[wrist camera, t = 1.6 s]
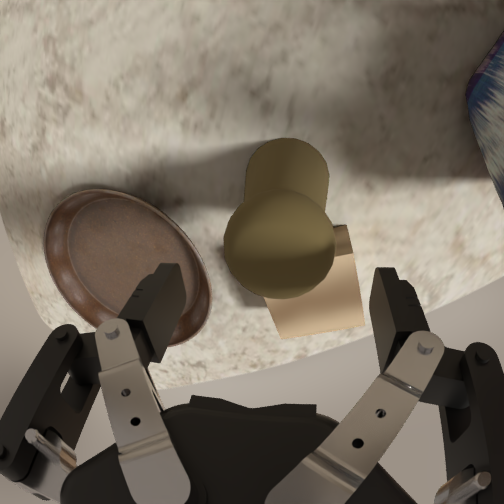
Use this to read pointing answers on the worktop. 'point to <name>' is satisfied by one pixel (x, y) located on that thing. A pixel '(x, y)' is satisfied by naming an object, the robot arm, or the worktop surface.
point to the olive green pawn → (282, 222)
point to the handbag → (489, 112)
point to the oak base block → (324, 298)
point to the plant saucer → (120, 257)
